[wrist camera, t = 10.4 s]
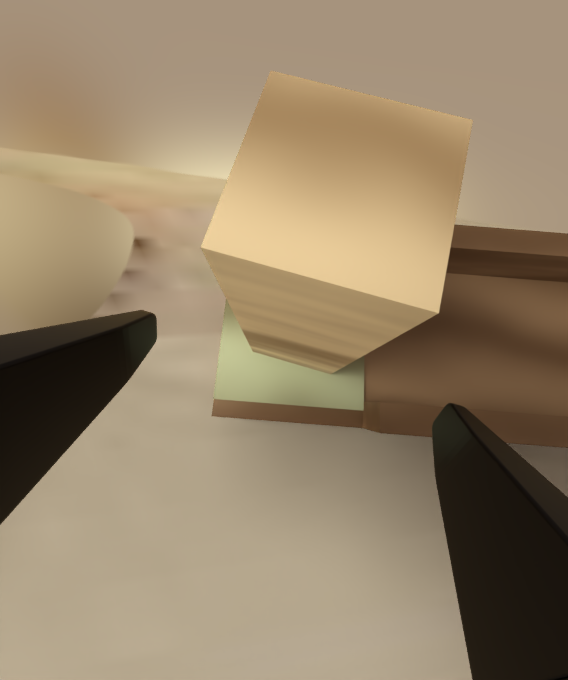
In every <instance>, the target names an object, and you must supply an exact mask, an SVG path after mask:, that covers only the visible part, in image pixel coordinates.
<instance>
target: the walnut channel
mask: <svg viewBox="0 0 568 680" xmlns="http://www.w3.org/2000/svg"><path fill="white" fill-rule="evenodd" d="M213 399H214V403H213V411H212V416H217V417H230V418H243V419H256V420H268V421H281V422H294V423H307V424H319V425H332V426H345V427H358V428H365V429H368V430H372V431H375V432H379V433H387V434H400V435H413V436H425V437H432V424H433V422H434V420H435V419H436V417H437V416H438V415H439V413H440V412H441V411H442V409H443V408H444V407H445V405H446V404H448V403H454V404H457V405H461V406H464V407H465V408H467V409H468V410H469V411H470V412H471V413H472V414H473V415H475V416H476V417H477V418H478V419H479V420H480V421H481V422H483V423H484V424H485V425H486V426H487V427H488V428H489V429H490V430H492V431H493V432H494V433H495V434H496V435H497V436H498V437H500V438H501V439H502V440H503V441H504V442H505V443H515V444H528V445H540V446H553V447H566V448H568V234H565V233H553V232H540V231H527V230H515V229H502V228H489V227H477V226H464V225H454V230H453V236H452V241H451V247H450V253H449V259H448V264H447V270H446V276H445V281H444V287H443V293H442V298H441V304H440V310H439V313H438V314H437V315H435V316H433V317H431V318H430V319H428V320H426V321H424V322H422V323H421V324H419V325H417V326H415V327H414V328H412V329H410V330H408V331H406V332H405V333H403V334H401V335H399V336H398V337H396V338H394V339H392V340H391V341H389V342H387V343H385V344H383V345H382V346H380V347H378V348H376V349H375V350H373V351H371V352H369V353H368V354H366V355H364V356H362V357H360V358H359V359H357V360H355V361H353V362H352V363H350V364H348V365H346V366H345V367H343V368H341V369H339V370H337V371H336V372H334V373H332V374H328V373H325V372H321V371H318V370H314V369H311V368H307V367H304V366H301V365H297V364H294V363H290V362H287V361H283V360H280V359H276V358H273V357H270V356H266V355H263V354H259V353H256V352H253V351H252V349H251V347H250V345H249V343H248V341H247V339H246V337H245V335H244V333H243V331H242V329H241V327H240V325H239V323H238V321H237V319H236V317H235V315H234V313H233V311H232V309H231V307H230V305H229V303H228V301H227V299H226V304H225V312H224V320H223V327H222V335H221V343H220V351H219V358H218V366H217V374H216V382H215V389H214V397H213Z"/></svg>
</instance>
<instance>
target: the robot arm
mask: <svg viewBox="0 0 568 680" xmlns="http://www.w3.org/2000/svg"><path fill="white" fill-rule="evenodd" d="M156 339H157V320H156V316H155V314H153V313H151V312H147V311H144V310H138V311H133V312H127V313H121V314H116V315H110V316H105V317H99V318H94V319H88V320H83V321H77V322H72V323H66V324H60V325H55V326H49V327H44V328H38V329H33V330H27V331H22V332H16V333H10V334H5V335H0V524H1V523H2V522H3V521H4V520H5V519H6V518H7V517H8V516H9V514H10V513H11V512H12V511H13V510H14V509H15V508H16V507H17V505H18V504H19V503H20V502H21V501H22V500H23V499H24V498H25V496H26V495H27V494H28V493H29V492H30V491H31V490H32V489H33V487H34V486H35V485H36V484H37V483H38V482H39V481H40V480H41V478H42V477H43V476H44V475H45V474H46V473H47V472H48V471H49V469H50V468H51V467H52V466H53V465H54V464H55V463H56V462H57V460H58V459H59V458H60V457H61V456H62V455H63V454H64V453H65V452H66V450H67V449H68V448H69V447H70V446H71V445H72V444H73V443H74V441H75V440H76V439H77V438H78V437H79V436H80V435H81V434H82V432H83V431H84V430H85V429H86V428H87V427H88V426H89V425H90V423H91V422H92V421H93V420H94V419H95V418H96V417H97V416H98V414H99V413H100V412H101V411H102V410H103V409H104V408H105V407H106V405H107V404H108V403H109V402H110V401H111V400H112V399H113V398H114V396H115V395H116V394H117V393H118V392H119V391H120V390H121V389H122V388H123V386H124V385H125V384H126V383H127V382H128V380H129V379H130V378H131V376H132V375H133V374H134V372H135V371H136V369H137V368H138V367H139V365H140V364H141V362H142V361H143V360H144V358H145V357H146V355H147V354H148V353H149V351H150V350H151V348H152V347H153V345H154V344H155V342H156ZM432 439H433V453H434V467H435V477H436V484H437V490H438V495H439V501H440V506H441V511H442V517H443V522H444V528H445V533H446V538H447V544H448V549H449V555H450V560H451V566H452V571H453V576H454V582H455V587H456V593H457V598H458V603H459V609H460V614H461V620H462V625H463V631H464V636H465V641H466V647H467V652H468V658H469V663H470V669H471V674H472V679H473V680H568V497H566V496H565V495H564V494H563V493H562V492H561V491H560V490H559V489H557V488H556V487H555V486H554V485H553V484H552V483H551V482H549V481H548V480H547V479H546V478H545V477H544V476H543V475H542V474H540V473H539V472H538V471H537V470H536V469H535V468H534V467H532V466H531V465H530V464H529V463H528V462H527V461H526V460H524V459H523V458H522V457H521V456H520V455H519V454H518V453H517V452H515V451H514V450H513V449H512V448H511V447H510V446H509V445H507V444H506V443H505V442H504V441H503V440H502V439H501V438H500V437H498V436H497V435H496V434H495V433H494V432H493V431H492V430H490V429H489V428H488V427H487V426H486V425H485V424H484V423H483V422H481V421H480V420H479V419H478V418H477V417H476V416H475V415H473V414H472V413H471V412H470V411H469V410H468V409H467V408H465V407H464V406H461V405H457V404H454V403H448V404H446V405H445V407H444V408H443V409H442V411H441V412H440V413H439V415H438V416H437V417H436V419H435V420H434V422H433V424H432Z"/></svg>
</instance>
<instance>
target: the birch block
mask: <svg viewBox="0 0 568 680" xmlns="http://www.w3.org/2000/svg"><path fill="white" fill-rule="evenodd" d="M472 122H473V120H470V119H466V118H462V117H458V116H454V115H450V114H445V113H442V112H438V111H434V110H430V109H426V108H421V107H417V106H413V105H409V104H405V103H401V102H397V101H392V100H389V99H385V98H381V97H377V96H372V95H368V94H364V93H360V92H356V91H352V90H348V89H344V88H340V87H336V86H332V85H327V84H323V83H319V82H315V81H311V80H307V79H303V78H299V77H295V76H290V75H286V74H282V73H278V72H274V71H270V74H269V76H268V79H267V82H266V84H265V87H264V89H263V91H262V94H261V97H260V99H259V102H258V104H257V107H256V109H255V112H254V114H253V117H252V119H251V122H250V124H249V127H248V129H247V132H246V135H245V137H244V139H243V142H242V145H241V147H240V150H239V152H238V155H237V157H236V160H235V162H234V165H233V167H232V170H231V172H230V175H229V177H228V180H227V182H226V185H225V187H224V190H223V192H222V195H221V198H220V200H219V203H218V205H217V208H216V210H215V213H214V215H213V218H212V220H211V223H210V225H209V228H208V230H207V233H206V235H205V238H204V240H203V243H202V245H201V249H202V251H203V253H204V255H205V257H206V259H207V261H208V263H209V265H210V267H211V269H212V271H213V273H214V275H215V277H216V279H217V281H218V283H219V285H220V287H221V289H222V291H223V293H224V295H225V297H226V299H227V301H228V303H229V305H230V307H231V309H232V311H233V313H234V315H235V317H236V319H237V321H238V323H239V325H240V327H241V329H242V331H243V333H244V335H245V337H246V339H247V341H248V343H249V345H250V347H251V349H252V351H253V352H256V353H259V354H263V355H266V356H270V357H273V358H276V359H280V360H283V361H287V362H290V363H294V364H297V365H301V366H304V367H307V368H311V369H314V370H318V371H321V372H325V373H328V374H332V373H334V372H336V371H337V370H339V369H341V368H343V367H345V366H346V365H348V364H350V363H352V362H353V361H355V360H357V359H359V358H360V357H362V356H364V355H366V354H368V353H369V352H371V351H373V350H375V349H376V348H378V347H380V346H382V345H383V344H385V343H387V342H389V341H391V340H392V339H394V338H396V337H398V336H399V335H401V334H403V333H405V332H406V331H408V330H410V329H412V328H414V327H415V326H417V325H419V324H421V323H422V322H424V321H426V320H428V319H430V318H431V317H433V316H435V315H437V314H438V313H439V310H440V304H441V298H442V293H443V287H444V281H445V276H446V270H447V264H448V259H449V253H450V247H451V241H452V236H453V230H454V224H455V219H456V213H457V207H458V202H459V196H460V190H461V184H462V179H463V173H464V168H465V162H466V156H467V150H468V145H469V139H470V133H471V128H472Z"/></svg>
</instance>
